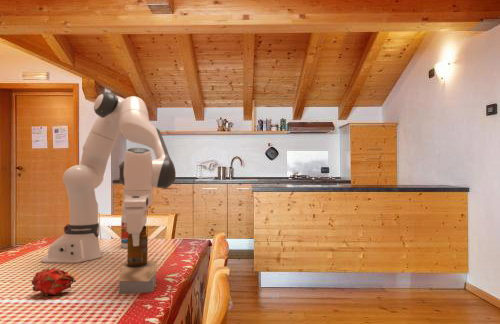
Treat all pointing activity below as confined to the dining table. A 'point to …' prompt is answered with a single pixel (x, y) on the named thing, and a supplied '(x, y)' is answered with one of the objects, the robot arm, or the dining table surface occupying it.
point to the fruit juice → (124, 229)
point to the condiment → (138, 251)
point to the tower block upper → (137, 273)
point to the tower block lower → (137, 286)
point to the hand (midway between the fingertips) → (137, 243)
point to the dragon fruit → (52, 281)
